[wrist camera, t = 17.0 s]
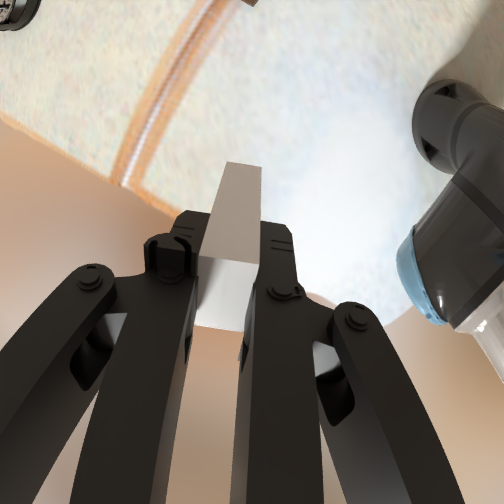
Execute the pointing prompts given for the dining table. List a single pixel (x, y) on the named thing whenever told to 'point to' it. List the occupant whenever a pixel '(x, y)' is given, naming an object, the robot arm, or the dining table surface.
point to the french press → (3, 3)
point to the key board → (250, 2)
